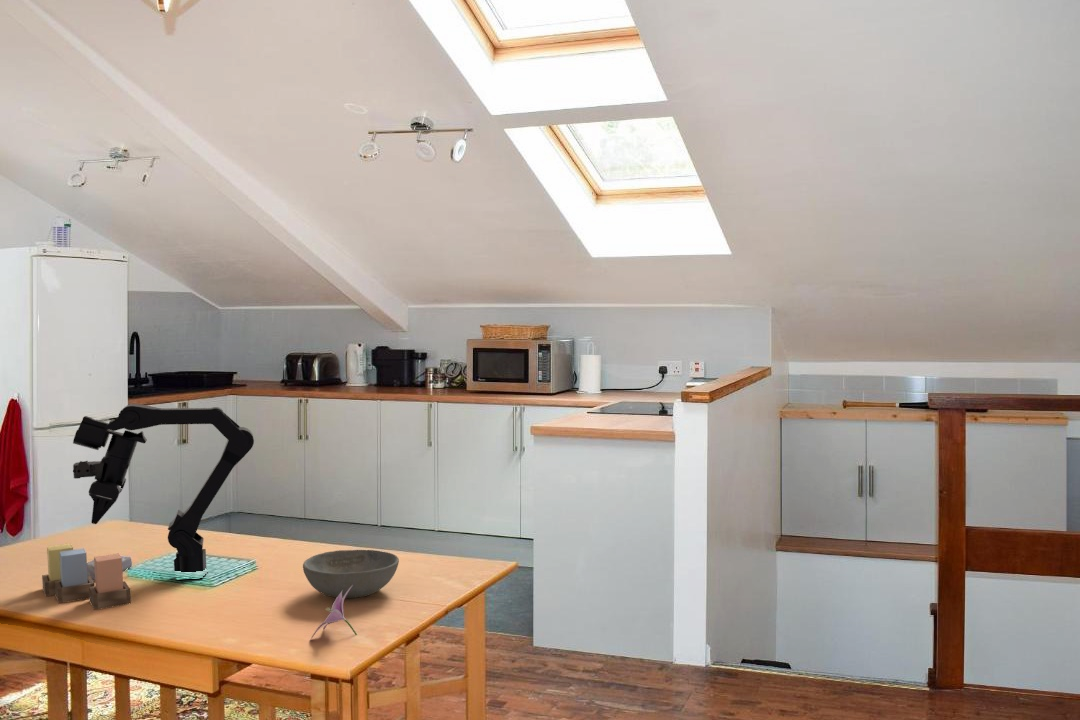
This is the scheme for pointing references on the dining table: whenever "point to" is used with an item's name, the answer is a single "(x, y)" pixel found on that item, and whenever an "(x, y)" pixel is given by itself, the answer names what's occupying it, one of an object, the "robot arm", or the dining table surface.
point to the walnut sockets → (86, 593)
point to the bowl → (350, 572)
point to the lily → (336, 612)
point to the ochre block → (55, 560)
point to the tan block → (108, 573)
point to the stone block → (125, 564)
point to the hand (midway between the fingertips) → (96, 519)
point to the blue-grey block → (73, 567)
